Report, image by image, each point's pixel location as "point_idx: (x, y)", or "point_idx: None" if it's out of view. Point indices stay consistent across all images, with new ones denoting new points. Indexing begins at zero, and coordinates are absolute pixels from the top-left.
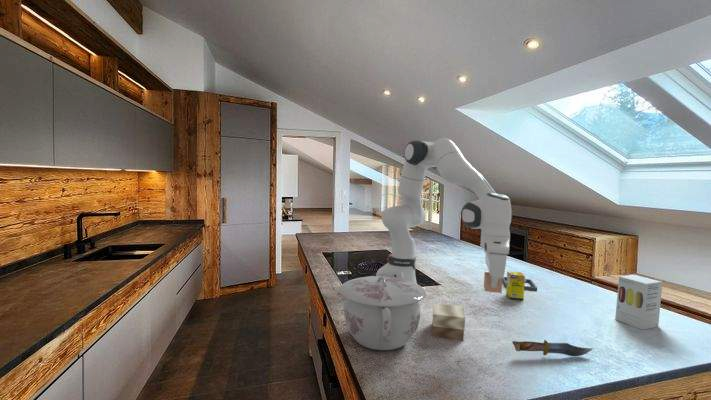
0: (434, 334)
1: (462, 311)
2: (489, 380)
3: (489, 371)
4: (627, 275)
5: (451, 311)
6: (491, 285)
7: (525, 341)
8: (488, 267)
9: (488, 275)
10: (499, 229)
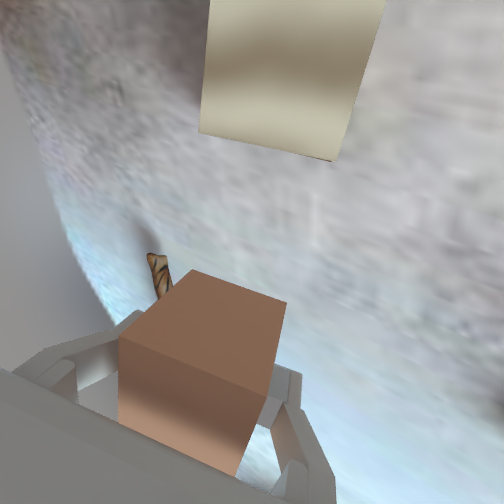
0: None
1: (266, 140)
2: (69, 149)
3: (100, 162)
4: None
5: (264, 76)
6: (131, 315)
7: (156, 286)
8: (13, 447)
9: (148, 368)
10: None
